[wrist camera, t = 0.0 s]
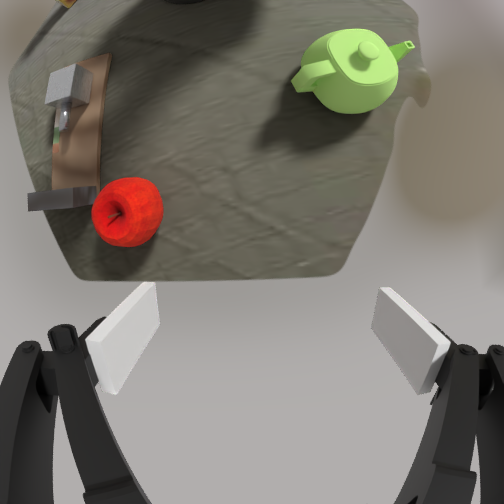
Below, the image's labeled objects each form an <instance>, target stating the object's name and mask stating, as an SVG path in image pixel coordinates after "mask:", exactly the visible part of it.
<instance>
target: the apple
mask: <svg viewBox="0 0 504 504" xmlns="http://www.w3.org/2000/svg"><path fill="white" fill-rule="evenodd" d="M91 213H92V221H93V224H94V226H95V229H96V232H97V233H98V234H99V235H100V237H101V238H102V239H103V240H104V241H105V242H107V243H109V244H111V245H114V246H123V247H134V246H138V245H141V244H143V243H144V242H146V241H148V240H149V239H150V238H151V237H152V236H153V234H154V233H155V232H156V230H157V229H158V227H159V225H160V223H161V221H162V218H163V203H162V199H161V196H160V194H159V191H158V189H157V188H156V186H155V185H154V184H153V183H151V182H150V181H148V180H146V179H142V178H139V177H134V178H122V179H118V180H114V181H112V182H110V183H109V184H107V185H106V186H105V187H104V188H103V189H102V190H101V191H100V193H99V194H98V196H97V198H96V199H95V201H94V204H93V207H92V210H91Z"/></svg>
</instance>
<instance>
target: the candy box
mask: <svg viewBox="0 0 504 504" xmlns="http://www.w3.org/2000/svg"><path fill="white" fill-rule="evenodd" d="M56 1H57V2H58V3H60V4H61V5H62V6H65V7H67V8H70V7H71V6H72V5H73V4H74V2H75V1H76V0H56Z"/></svg>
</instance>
